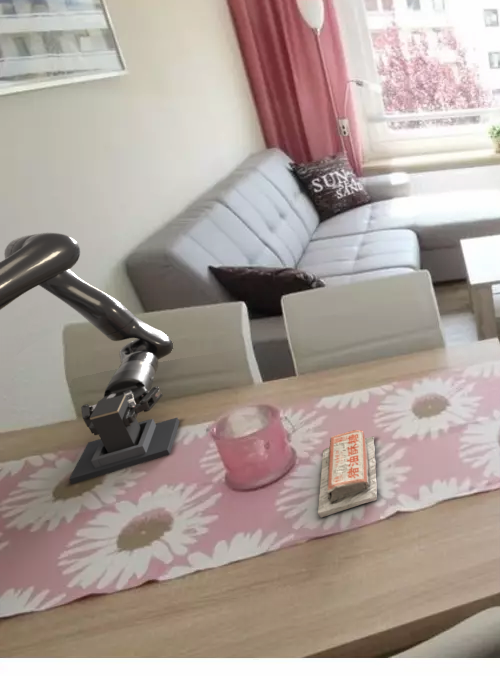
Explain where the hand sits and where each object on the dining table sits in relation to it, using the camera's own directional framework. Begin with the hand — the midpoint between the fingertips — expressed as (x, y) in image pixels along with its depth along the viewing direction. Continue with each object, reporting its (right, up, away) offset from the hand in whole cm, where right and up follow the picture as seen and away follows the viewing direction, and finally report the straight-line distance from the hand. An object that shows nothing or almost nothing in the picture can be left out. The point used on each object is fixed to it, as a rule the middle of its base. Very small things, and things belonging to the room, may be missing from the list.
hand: (110, 426), depth 109 cm
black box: (-1, -5, +5) cm, 7 cm away
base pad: (-1, -7, +6) cm, 9 cm away
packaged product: (+51, -9, -3) cm, 52 cm away
